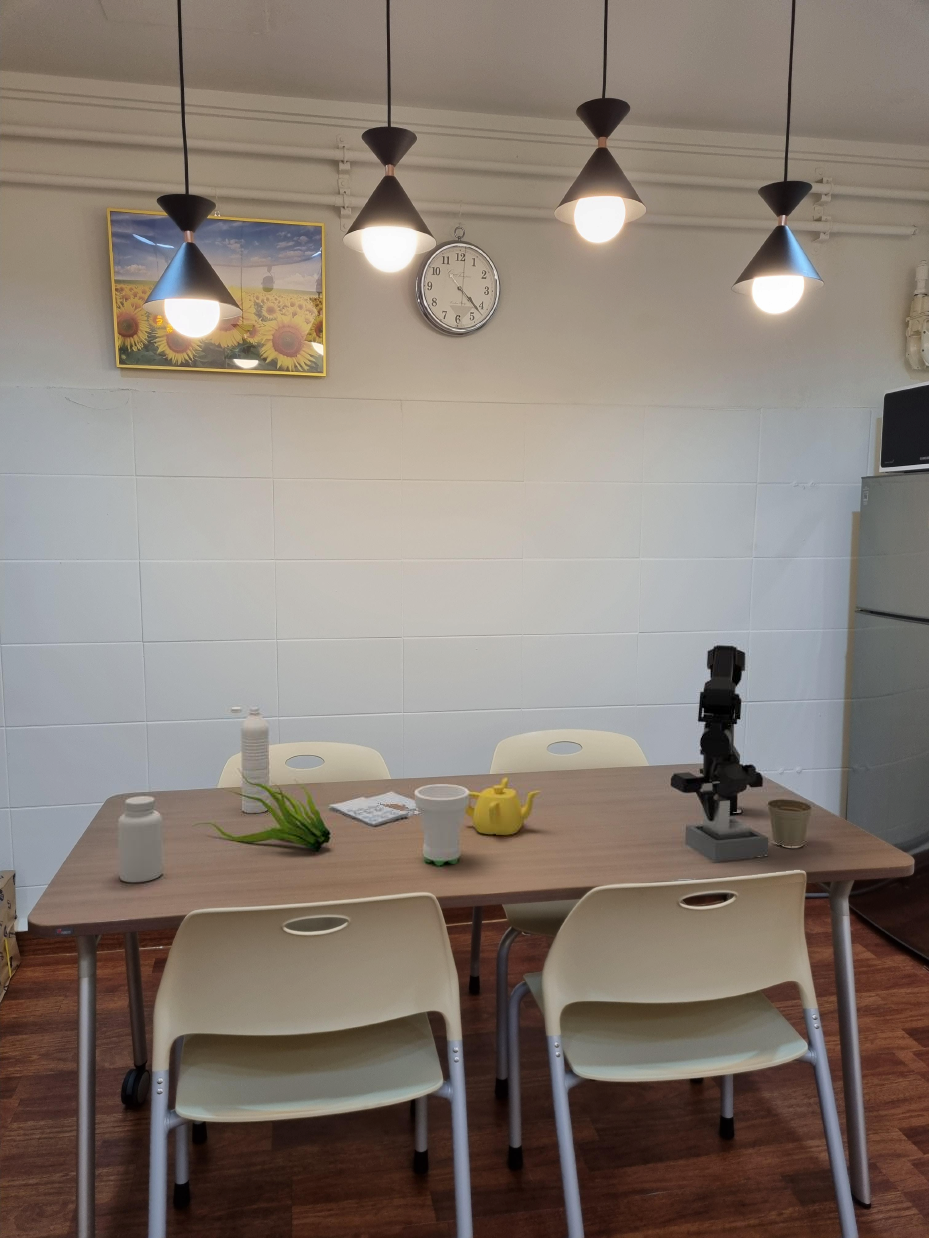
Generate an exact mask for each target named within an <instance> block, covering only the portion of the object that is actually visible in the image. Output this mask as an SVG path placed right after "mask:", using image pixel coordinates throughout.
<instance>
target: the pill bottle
mask: <svg viewBox="0 0 929 1238" xmlns="http://www.w3.org/2000/svg"><path fill="white" fill-rule="evenodd" d="M124 805H125V806H124V808H125V809H124V813H123V814H122V815H120V817H119V818H118V821H117V841H118V842H117V843H118V845H117V847H118V849H117V850H118V873H119V878H120V881H122V882H126V883H143V882H148V881H152V880H155V879H157V878H159V877H161V876H162V874H163V871H164V858H163V857H164V855H163V852H164V849H163V847H164V846H163V819H162V815H161V814H160V812H158V811H157V810H154V809H155V805H156V799H155V798H154V797H153V796H148V795H146V796H143V795H142V796H141V795H140V796H134V797H130V798H127V799H126V800H125V802H124Z"/></svg>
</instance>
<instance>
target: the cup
mask: <svg viewBox="0 0 929 1238" xmlns="http://www.w3.org/2000/svg"><path fill="white" fill-rule="evenodd" d="M469 791H470V790H469V789H467V788H466V787H464V786H461V785H456V784H446V783H445V784H443V783H440V784H439V783H437V784H427V785H423V786H421V787H419V788H417V789H415V791H414V800H415V805H416V806H417V808H418V810H419V813H420V814H419V815H420V819H421V822H422V828H423V837H424V838H423V839H424V843H423V846H422V851H423V852H422V853H423V854H422V855H423V859H424V862H425V863H432V862H434V864H435V866H438V867H440V865H441V866H442V865H444V863H446V862H447V863H449V864H451V865H455V864H456V863H457V862H458V860H459V859H460V856H461V853H462V850H461V849H462V847H461V846H462V845H461V843H460V837H461V836H460V834H461V829H462V828H461V827H462V823H463V820H464V816H465V814H466V813H465V811H466V808H467V807H468V805H469V795H470V793H469Z"/></svg>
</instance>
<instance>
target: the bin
mask: <svg viewBox="0 0 929 1238" xmlns="http://www.w3.org/2000/svg"><path fill="white" fill-rule="evenodd" d="M685 843H686V844H687V845H686V844H685V845H686V846H688V845H689V846H688V847H690V846H691V847H692V848H691V847H690V848H691V849H693V850H694V849H695V850H694V851H696V852H697V851H698V852H697V853H699V854H700V855H702V856H704V857H706V858H708V859H709V860H710V861H711V862H713V863H719V862H727V861H729V862H730V861H739V860H740V861H741V860H747V859H746V858H749V859H752V858H751V857H758V856H765V855H768V854H769V836H766V835H765V834H762V833H760V832H758V831H757V830H755V829H752V828H751V827H750V837H740V838H729V839H719V840H718V839H717V838H715V837H713V836H712V835H710V834H708V833H706V832H705V831H703V823H702V824H701V823H698V824H690V825H685ZM768 856H769V855H768ZM758 858H759V857H758Z"/></svg>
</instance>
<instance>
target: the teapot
mask: <svg viewBox="0 0 929 1238" xmlns="http://www.w3.org/2000/svg"><path fill="white" fill-rule="evenodd" d="M468 791H469V793H470V795H469V805H468V807H467V808H466V811H465V814H466V815H468V817H470V818H471V819H472V823H473V826H474V828H475V829H476V831H477V832H478V833H480V834H485V835H493V834H496V835H495V836H510V834H511V835H514V834H515V833H517V832H519V830H520V829H521V827H522V826H523V824H524V821H525V820H526V819H528V818H529V816H530V815H531V813H532V809H533V802H534V798H535V796H536V795H537V794H538V793H540V792H541V790H533V791H531V792H529V793H528V795H527V798H526V803H525V806H523V807H522V804H521V801H520V799H519V796H518V794H517V791H516V790H515V789H512V788H508V777H504V778H502V780H501V784H495V785H493V786H492V787H489V788H484V789H483V790H482V791H481V792H478V791H470V790H468ZM472 799H477V801H476V803H475V806H474V807H473V806H471V802H472Z"/></svg>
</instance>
